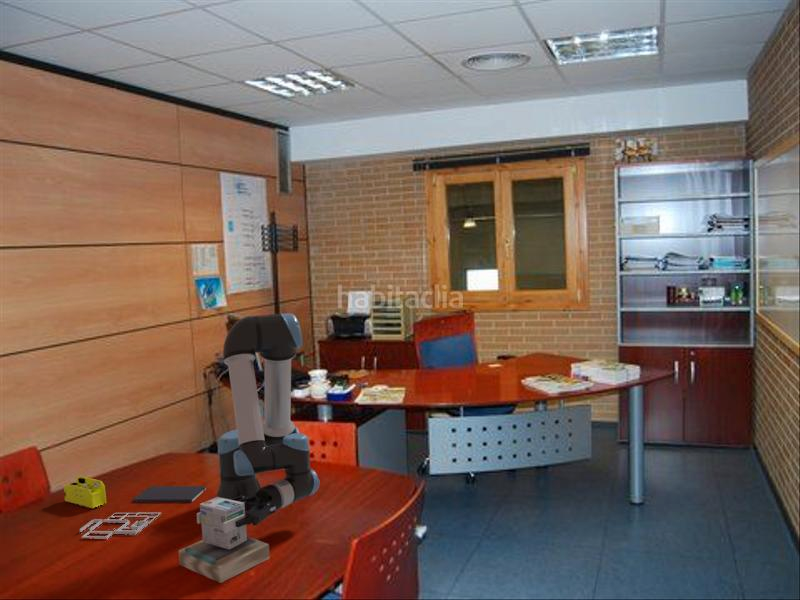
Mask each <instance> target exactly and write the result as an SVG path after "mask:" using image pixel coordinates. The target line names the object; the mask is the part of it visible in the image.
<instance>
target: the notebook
mask: <svg viewBox="0 0 800 600" xmlns="http://www.w3.org/2000/svg"><path fill="white" fill-rule="evenodd" d="M206 490H207V486H206V485H169V486H168V485H153V486H149V487H148V488H146V489H144V491H142V492H141V493H139V494H138V495H136V496H135V497H133V499H132V503H193V502H194V501H196V499H197V498H199V496H200V495H201V494H202V493H204V492H205V491H206ZM136 501H137V502H136ZM141 501H142V502H141Z"/></svg>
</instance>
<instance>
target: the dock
mask: <svg viewBox="0 0 800 600" xmlns="http://www.w3.org/2000/svg"><path fill="white" fill-rule="evenodd" d="M270 558H271V557H270V544H269V543H266V542H264V541H261V540H259V539H256V538H253V537H251V536H248V535H247V541H245V542H243V543H241V544H239V545H237V546H235V547H233V548H231V549H226V548H222V547H219V546H215V545H212V544H209V543H205V542H203V539H202V540H199V541H197V542H195V543H193V544H191V545H188V546H186V547H183V548H181V549H179V550H178V561H179V566H182V567H184V568H186V569H188V570H190V571H192V572H194V573H195V572H196V573H197V574H199V575H202V576H203V577H206V578H208V579H211V580H213V581H215V582H218V583H220V584H222V583H224V582H226V581H228V580H229V579H232V578H234V577H236V576H237V575H239V574H242V573H244V572H246V571H247V570H249V569H251V568H253V567H256V566H258V565H259V564H262V563H264V562H265V561H267V560H270Z"/></svg>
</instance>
